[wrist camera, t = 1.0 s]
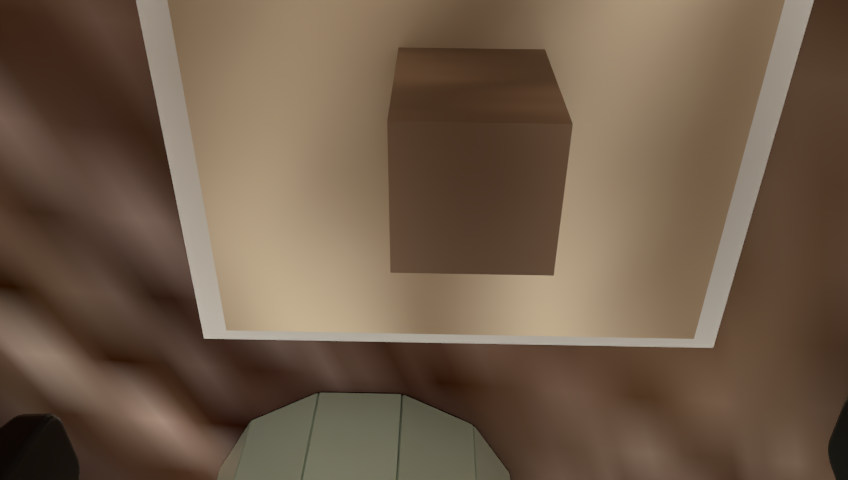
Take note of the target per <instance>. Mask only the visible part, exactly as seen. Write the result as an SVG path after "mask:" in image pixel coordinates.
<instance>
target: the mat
mask: <svg viewBox="0 0 848 480" xmlns="http://www.w3.org/2000/svg"><path fill="white" fill-rule="evenodd" d="M813 2H814V0H785V2H784V6H783V9H782V13H781V17H780V21H779V24H778V28H777V32H776V35H775V39H774V43H773V47H772V50H771V54H770V58H769V61H768V65H767V69H766V73H765V76H764V80H763V84H762V88H761V91H760V95H759V99H758V102H757V106H756V110H755V114H754V117H753V121H752V125H751V128H750V132H749V136H748V140H747V143H746V147H745V151H744V154H743V158H742V162H741V166H740V169H739V173H738V177H737V181H736V184H735V188H734V192H733V195H732V199H731V203H730V207H729V210H728V214H727V218H726V221H725V225H724V229H723V233H722V236H721V240H720V244H719V248H718V251H717V255H716V259H715V262H714V266H713V270H712V274H711V277H710V281H709V285H708V288H707V292H706V296H705V300H704V303H703V307H702V311H701V314H700V318H699V322H698V326H697V329H696V333H695V337H694V339H674V338H619V337H564V336H509V335H454V334H399V333H344V332H289V331H234V330H226V326H225V320H224V314H223V309H222V303H221V298H220V292H219V286H218V281H217V275H216V270H215V264H214V258H213V253H212V247H211V242H210V236H209V230H208V225H207V219H206V214H205V208H204V202H203V197H202V191H201V186H200V180H199V174H198V169H197V163H196V158H195V152H194V146H193V141H192V135H191V130H190V124H189V118H188V113H187V107H186V102H185V96H184V90H183V85H182V79H181V74H180V68H179V63H178V57H177V51H176V46H175V40H174V35H173V29H172V23H171V18H170V12H169V7H168V1H167V0H136V3H137V8H138V13H139V18H140V23H141V28H142V33H143V38H144V43H145V48H146V53H147V58H148V63H149V68H150V73H151V78H152V83H153V88H154V93H155V98H156V103H157V108H158V113H159V118H160V123H161V128H162V133H163V137H164V142H165V147H166V152H167V157H168V162H169V167H170V172H171V177H172V182H173V187H174V192H175V197H176V202H177V207H178V212H179V217H180V222H181V227H182V232H183V237H184V242H185V247H186V252H187V257H188V262H189V266H190V271H191V276H192V281H193V286H194V291H195V296H196V301H197V306H198V311H199V316H200V321H201V326H202V331H203V336H204V339H257V340H312V341H367V342H421V343H476V344H530V345H585V346H640V347H694V348H713V347H714V343H715V340H716V336H717V333H718V330H719V326H720V323H721V319H722V316H723V312H724V309H725V305H726V302H727V299H728V295H729V292H730V288H731V285H732V281H733V278H734V274H735V271H736V267H737V264H738V261H739V257H740V254H741V250H742V247H743V243H744V240H745V236H746V233H747V230H748V226H749V223H750V219H751V216H752V212H753V209H754V205H755V202H756V198H757V195H758V192H759V188H760V185H761V181H762V178H763V174H764V171H765V167H766V164H767V160H768V157H769V154H770V150H771V147H772V143H773V140H774V136H775V133H776V129H777V126H778V123H779V119H780V116H781V112H782V109H783V105H784V102H785V98H786V95H787V91H788V88H789V85H790V81H791V78H792V74H793V71H794V67H795V64H796V60H797V57H798V54H799V50H800V47H801V43H802V40H803V36H804V33H805V29H806V26H807V22H808V19H809V16H810V12H811V9H812V5H813Z"/></svg>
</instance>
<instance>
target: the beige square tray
mask: <svg viewBox="0 0 848 480" xmlns="http://www.w3.org/2000/svg"><path fill="white" fill-rule="evenodd" d="M167 1H168V7H169V12H170V18H171V23H172V29H173V35H174V40H175V46H176V51H177V57H178V63H179V68H180V74H181V79H182V85H183V90H184V96H185V102H186V107H187V113H188V118H189V124H190V130H191V135H192V141H193V146H194V152H195V158H196V163H197V169H198V174H199V180H200V186H201V191H202V197H203V202H204V208H205V214H206V219H207V225H208V230H209V236H210V242H211V247H212V253H213V258H214V264H215V270H216V275H217V281H218V286H219V292H220V298H221V303H222V309H223V314H224V320H225V326H226V330H234V331H289V332H344V333H399V334H454V335H509V336H564V337H619V338H674V339H694V337H695V333H696V329H697V326H698V322H699V318H700V314H701V311H702V307H703V303H704V300H705V296H706V292H707V288H708V285H709V281H710V277H711V274H712V270H713V266H714V262H715V259H716V255H717V251H718V248H719V244H720V240H721V236H722V233H723V229H724V225H725V221H726V218H727V214H728V210H729V207H730V203H731V199H732V195H733V192H734V188H735V184H736V181H737V177H738V173H739V169H740V166H741V162H742V158H743V154H744V151H745V147H746V143H747V140H748V136H749V132H750V128H751V125H752V121H753V117H754V114H755V110H756V106H757V102H758V99H759V95H760V91H761V88H762V84H763V80H764V76H765V73H766V69H767V65H768V61H769V58H770V54H771V50H772V47H773V43H774V39H775V35H776V32H777V28H778V24H779V21H780V17H781V13H782V9H783V6H784V2H785V0H167Z"/></svg>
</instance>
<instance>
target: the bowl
mask: <svg viewBox="0 0 848 480" xmlns="http://www.w3.org/2000/svg"><path fill="white" fill-rule="evenodd" d="M217 480H510V474H509V472H508V471H507V469H506V468H505V467H504V465H503V464H502V462H501V461H500V460H499V458H498V457H497V456H496V454H495V453H494V452H493V450H492V449H491V448H490V446H489V445H488V444H487V442H486V441H485V440H484V438H483V437H482V436H481V434H480V433H479V432H478V430H477V429H476V428H475V426H473V425H472V424H470V423H468V422H465V421H463V420H461V419H458V418H456V417H454V416H452V415H449V414H447V413H445V412H442V411H440V410H438V409H436V408H433V407H431V406H429V405H426V404H424V403H422V402H420V401H417V400H415V399H413V398H410V397H408V396H406V395H403V396H402V397H401V394H372V393H319V394H318V393H316V394H314V395H311V396H309V397H306V398H304V399H302V400H299V401H297V402H295V403H292V404H290V405H287V406H285V407H283V408H280V409H278V410H275V411H273V412H271V413H268V414H266V415H264V416H261V417H259V418H256V419H254V420H252V422H250V423H249V424H248V426H247V427H246V429H245V431H244V432H243V434H242V435H241V437H240V438H239V440H238V441H237V443H236V444H235V446H234V447H233V449H232V450H231V452H230V453H229V455H228V457H227V458H226V460H225V461H224V463H223V464H222V466H221V468H220V471H219V474H218V477H217Z"/></svg>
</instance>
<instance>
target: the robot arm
mask: <svg viewBox="0 0 848 480" xmlns="http://www.w3.org/2000/svg"><path fill="white" fill-rule="evenodd" d="M828 453H829V460H830V464H831V467H832V470H833V472H834V475H835V478H836V480H848V398H847V399H846V401H845V402H844V405H843V408H842V410H841V413H840V415H839V418H838V420H837V423H836V425H835V428H834V430H833V433H832V435H831V438H830V441H829V447H828ZM79 473H80V472H79V462H78V458H77V456H76V453H75V451H74V449H73V447H72V444H71V442H70V440H69V437H68V435H67V433H66V430H65V428H64V426H63V424H62V422H61V420H60V418H58V417H57V416H56V415H55V414H50V413H49V414H22V415H18V416H16V417H14V418H13V419H11V420H10V421H9V422H7V423H6V424H5V425H3V426H2V427H1V428H0V480H79Z"/></svg>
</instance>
